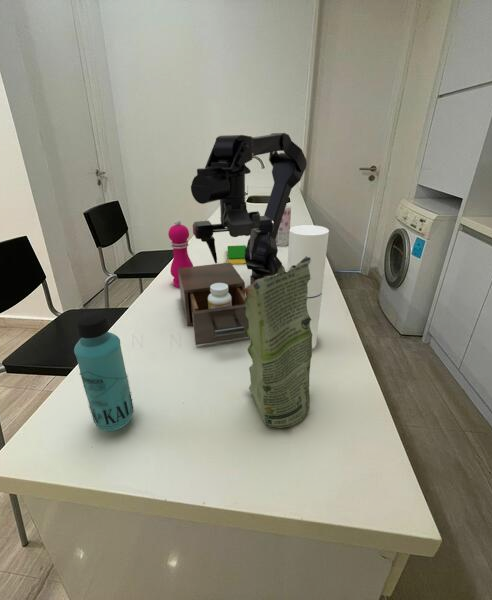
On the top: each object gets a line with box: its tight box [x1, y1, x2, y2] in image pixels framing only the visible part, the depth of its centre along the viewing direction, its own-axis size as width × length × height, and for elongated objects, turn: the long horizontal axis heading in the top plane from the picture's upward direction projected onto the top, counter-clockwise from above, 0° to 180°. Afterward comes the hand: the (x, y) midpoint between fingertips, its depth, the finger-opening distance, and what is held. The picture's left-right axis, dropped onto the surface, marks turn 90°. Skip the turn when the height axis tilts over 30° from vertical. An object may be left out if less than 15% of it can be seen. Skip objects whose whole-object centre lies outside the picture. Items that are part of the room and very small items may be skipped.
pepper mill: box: [167, 219, 194, 289], centre depth 99 cm, size 7×7×20 cm
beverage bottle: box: [73, 311, 135, 432], centre depth 49 cm, size 6×7×20 cm
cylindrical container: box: [286, 224, 330, 350], centre depth 67 cm, size 7×7×25 cm
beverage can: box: [275, 205, 292, 247], centre depth 132 cm, size 6×6×15 cm
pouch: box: [244, 256, 313, 429], centre depth 51 cm, size 11×12×25 cm
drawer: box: [189, 287, 250, 346], centre depth 75 cm, size 18×13×8 cm
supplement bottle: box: [208, 283, 232, 309], centre depth 75 cm, size 5×5×10 cm
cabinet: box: [178, 262, 246, 327], centre depth 86 cm, size 15×15×10 cm
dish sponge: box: [227, 244, 247, 265], centre depth 122 cm, size 7×14×2 cm, turn 0°
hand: (233, 261), depth 82 cm, fingers open, 9 cm apart
